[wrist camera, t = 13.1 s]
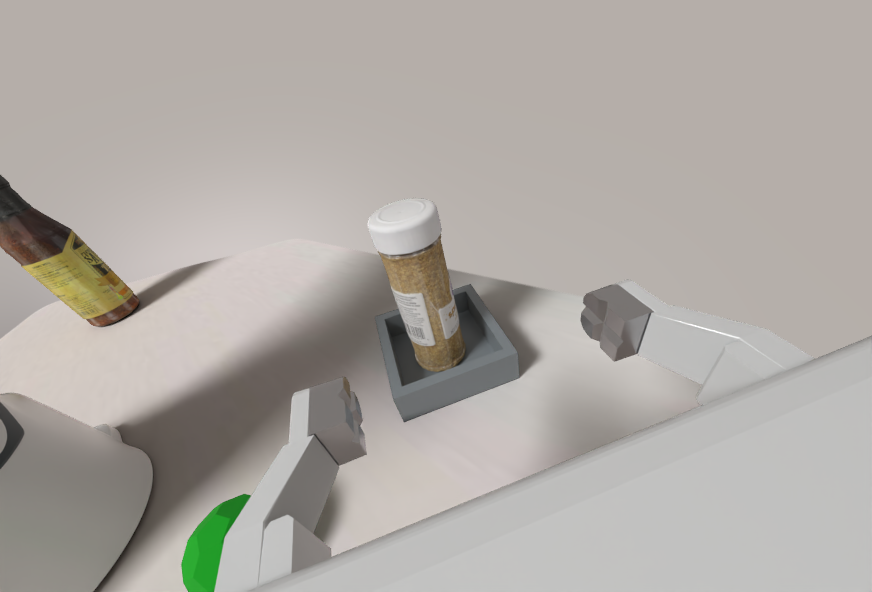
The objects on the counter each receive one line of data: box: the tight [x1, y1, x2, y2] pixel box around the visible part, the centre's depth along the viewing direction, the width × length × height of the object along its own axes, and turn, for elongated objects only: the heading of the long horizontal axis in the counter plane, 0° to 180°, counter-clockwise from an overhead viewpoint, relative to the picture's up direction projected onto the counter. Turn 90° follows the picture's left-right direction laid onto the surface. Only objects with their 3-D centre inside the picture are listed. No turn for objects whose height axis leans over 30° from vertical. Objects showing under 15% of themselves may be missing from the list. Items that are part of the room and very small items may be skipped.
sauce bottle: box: [0, 175, 139, 327], centre depth 41 cm, size 7×6×20 cm
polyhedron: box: [181, 494, 251, 592], centre depth 18 cm, size 5×5×5 cm
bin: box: [375, 284, 519, 422], centre depth 28 cm, size 10×10×3 cm
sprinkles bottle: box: [368, 198, 466, 372], centre depth 25 cm, size 5×5×13 cm
